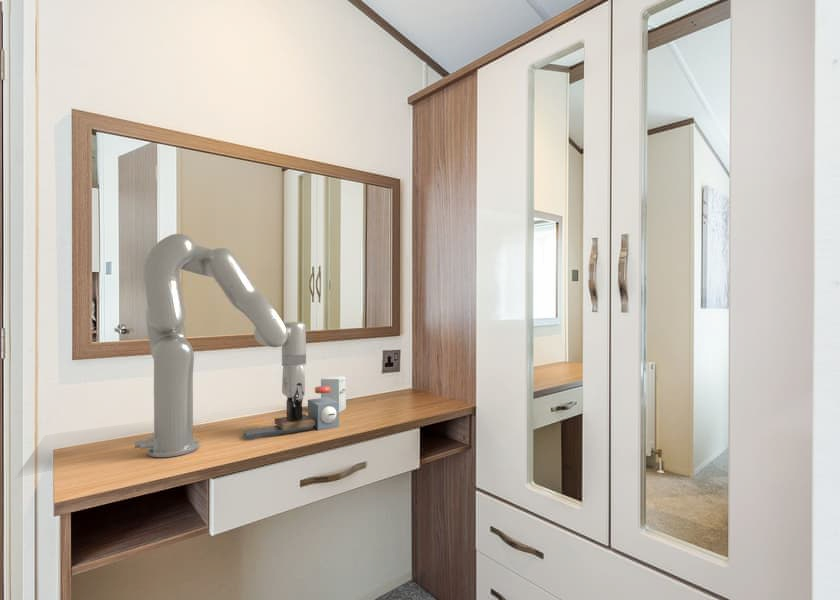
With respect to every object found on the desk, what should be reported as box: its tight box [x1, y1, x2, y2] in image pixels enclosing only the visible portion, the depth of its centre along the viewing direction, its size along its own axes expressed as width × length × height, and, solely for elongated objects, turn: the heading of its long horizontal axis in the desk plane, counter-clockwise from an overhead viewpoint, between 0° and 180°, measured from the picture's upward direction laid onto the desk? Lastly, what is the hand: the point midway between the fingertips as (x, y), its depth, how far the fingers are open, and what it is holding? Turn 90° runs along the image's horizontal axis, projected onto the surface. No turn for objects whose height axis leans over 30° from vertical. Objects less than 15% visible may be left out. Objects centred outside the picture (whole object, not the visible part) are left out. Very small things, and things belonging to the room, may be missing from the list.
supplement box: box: [320, 375, 347, 414], centre depth 168 cm, size 7×7×13 cm
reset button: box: [314, 385, 330, 394], centre depth 148 cm, size 5×5×2 cm
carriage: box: [274, 399, 315, 430], centre depth 143 cm, size 10×10×8 cm
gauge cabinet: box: [307, 397, 340, 431], centre depth 148 cm, size 7×10×8 cm
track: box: [242, 424, 314, 441], centre depth 140 cm, size 20×6×2 cm, turn 123°
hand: (294, 416), depth 143 cm, fingers open, 4 cm apart
